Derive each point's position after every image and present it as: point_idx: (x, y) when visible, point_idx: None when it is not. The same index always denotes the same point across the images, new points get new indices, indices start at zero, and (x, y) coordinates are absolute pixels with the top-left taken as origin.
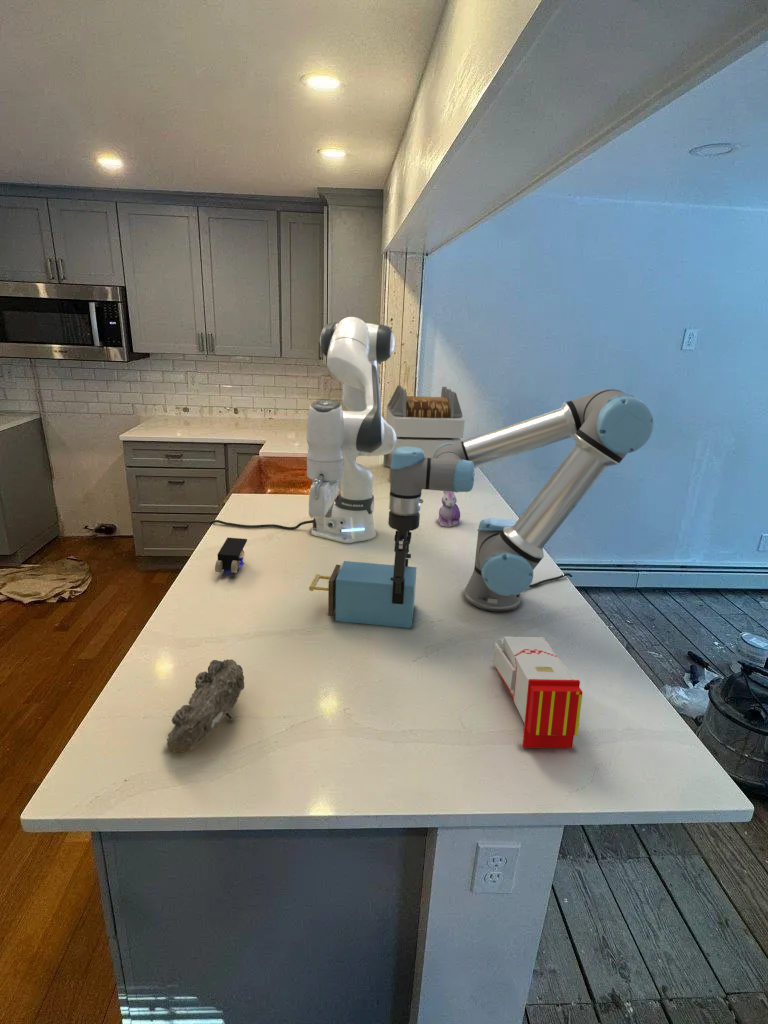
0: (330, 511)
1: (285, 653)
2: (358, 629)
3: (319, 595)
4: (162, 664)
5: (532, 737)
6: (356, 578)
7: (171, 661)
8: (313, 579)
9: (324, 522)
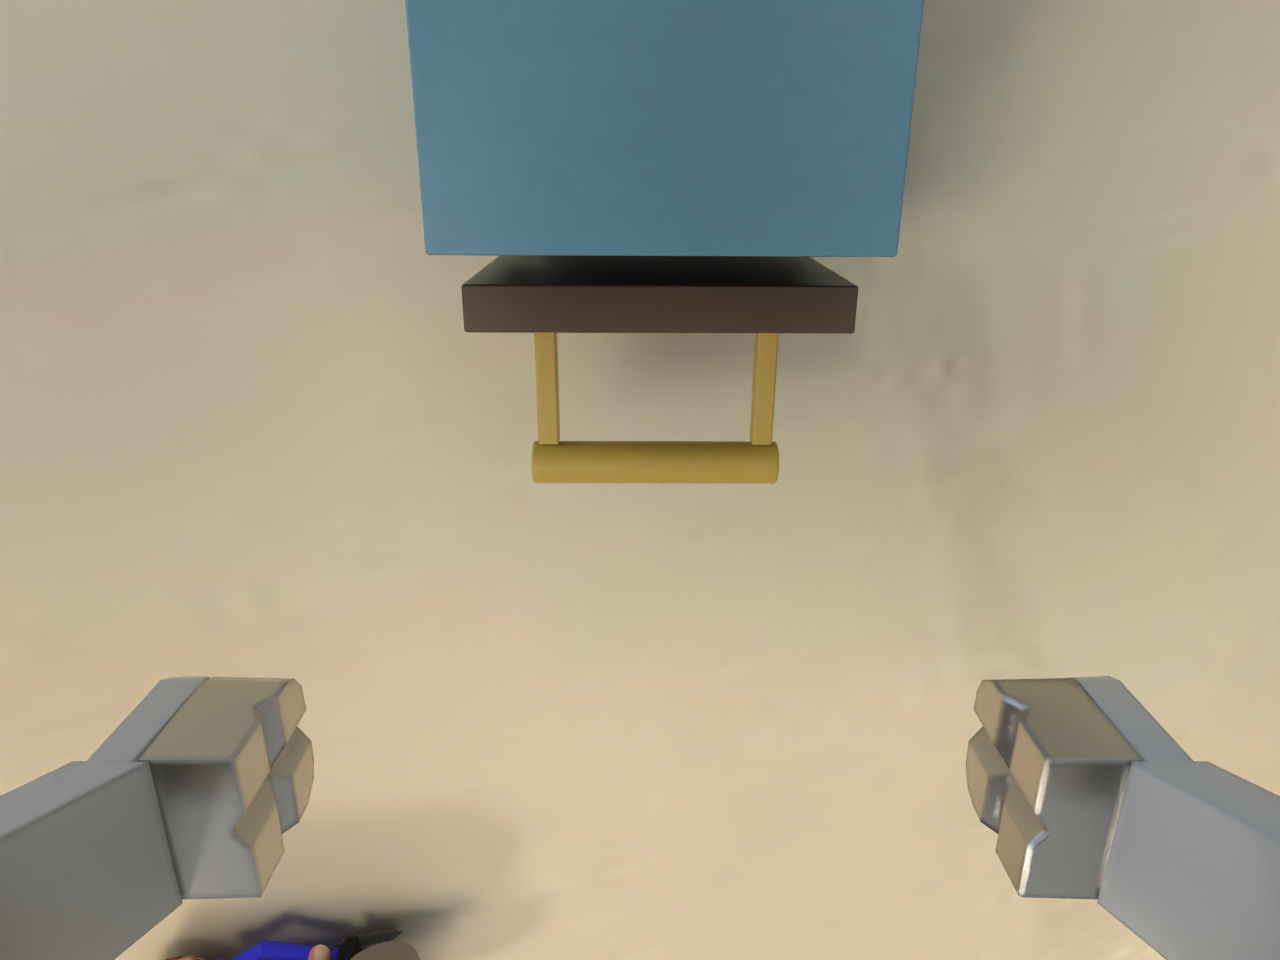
0: (239, 781)
1: (1193, 442)
2: None
3: (473, 404)
4: None
5: None
6: (854, 25)
7: None
8: (631, 482)
9: (1064, 769)
